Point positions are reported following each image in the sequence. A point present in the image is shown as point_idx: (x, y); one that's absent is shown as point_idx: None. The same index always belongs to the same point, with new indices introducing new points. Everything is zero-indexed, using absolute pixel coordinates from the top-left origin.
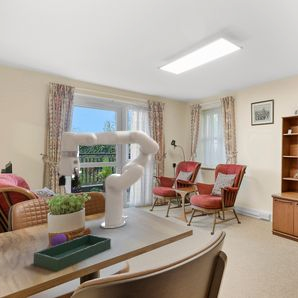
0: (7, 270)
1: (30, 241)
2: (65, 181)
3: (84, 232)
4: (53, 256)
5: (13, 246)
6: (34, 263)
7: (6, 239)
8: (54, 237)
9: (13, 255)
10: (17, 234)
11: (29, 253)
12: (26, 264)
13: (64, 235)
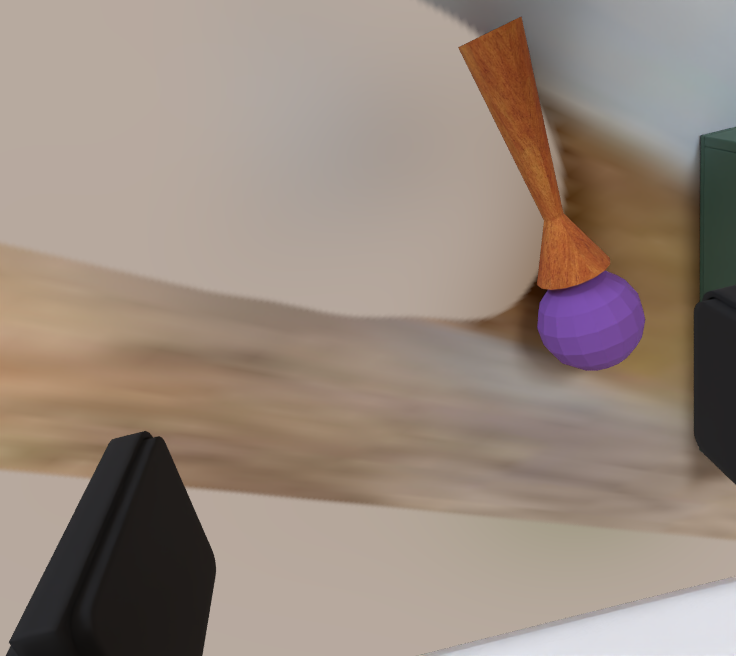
0: (658, 524)
1: (288, 386)
2: (135, 522)
3: (537, 93)
4: None
5: (313, 465)
6: None
7: None
8: (611, 364)
9: (480, 486)
10: (20, 410)
11: (524, 432)
12: (667, 467)
13: (626, 303)
